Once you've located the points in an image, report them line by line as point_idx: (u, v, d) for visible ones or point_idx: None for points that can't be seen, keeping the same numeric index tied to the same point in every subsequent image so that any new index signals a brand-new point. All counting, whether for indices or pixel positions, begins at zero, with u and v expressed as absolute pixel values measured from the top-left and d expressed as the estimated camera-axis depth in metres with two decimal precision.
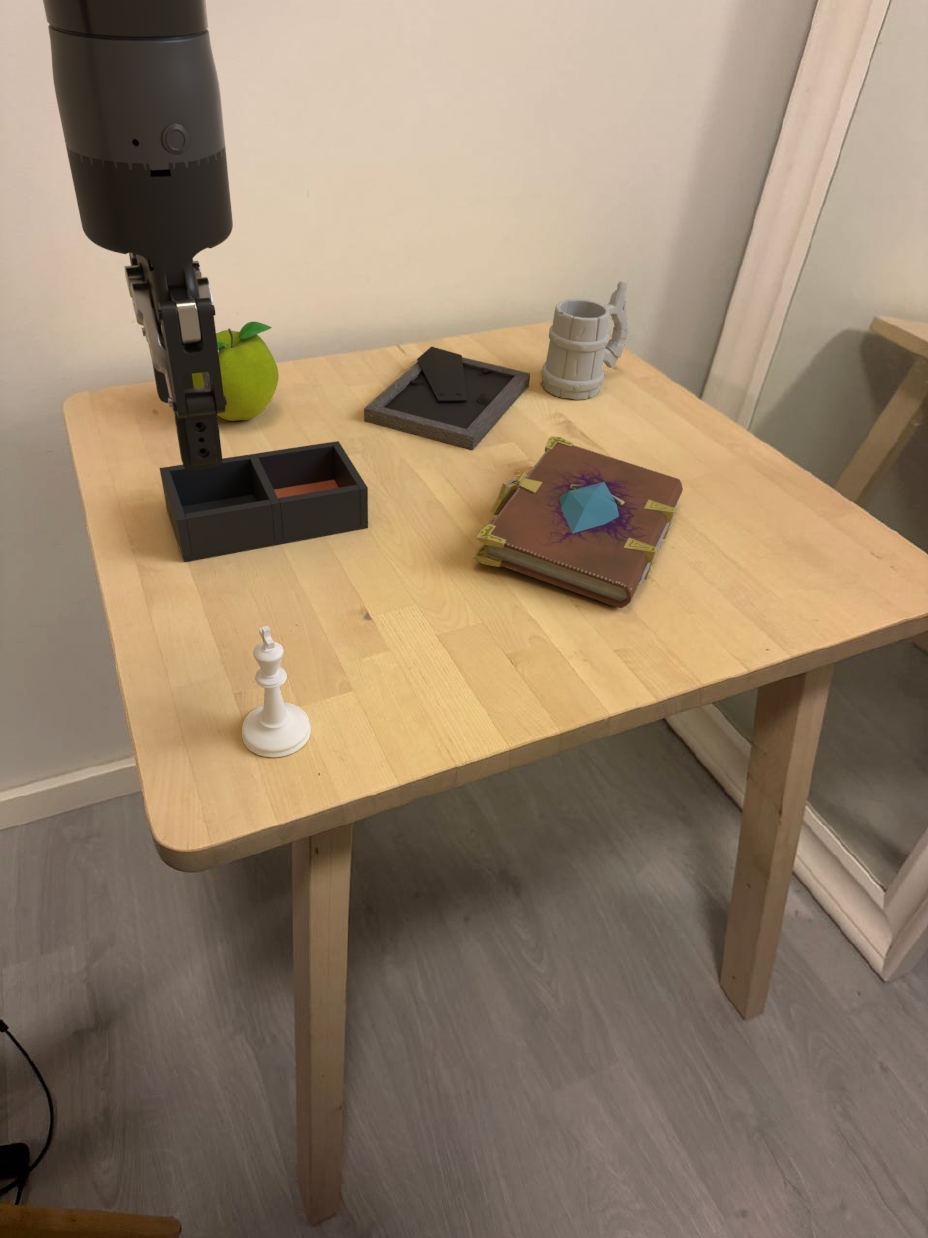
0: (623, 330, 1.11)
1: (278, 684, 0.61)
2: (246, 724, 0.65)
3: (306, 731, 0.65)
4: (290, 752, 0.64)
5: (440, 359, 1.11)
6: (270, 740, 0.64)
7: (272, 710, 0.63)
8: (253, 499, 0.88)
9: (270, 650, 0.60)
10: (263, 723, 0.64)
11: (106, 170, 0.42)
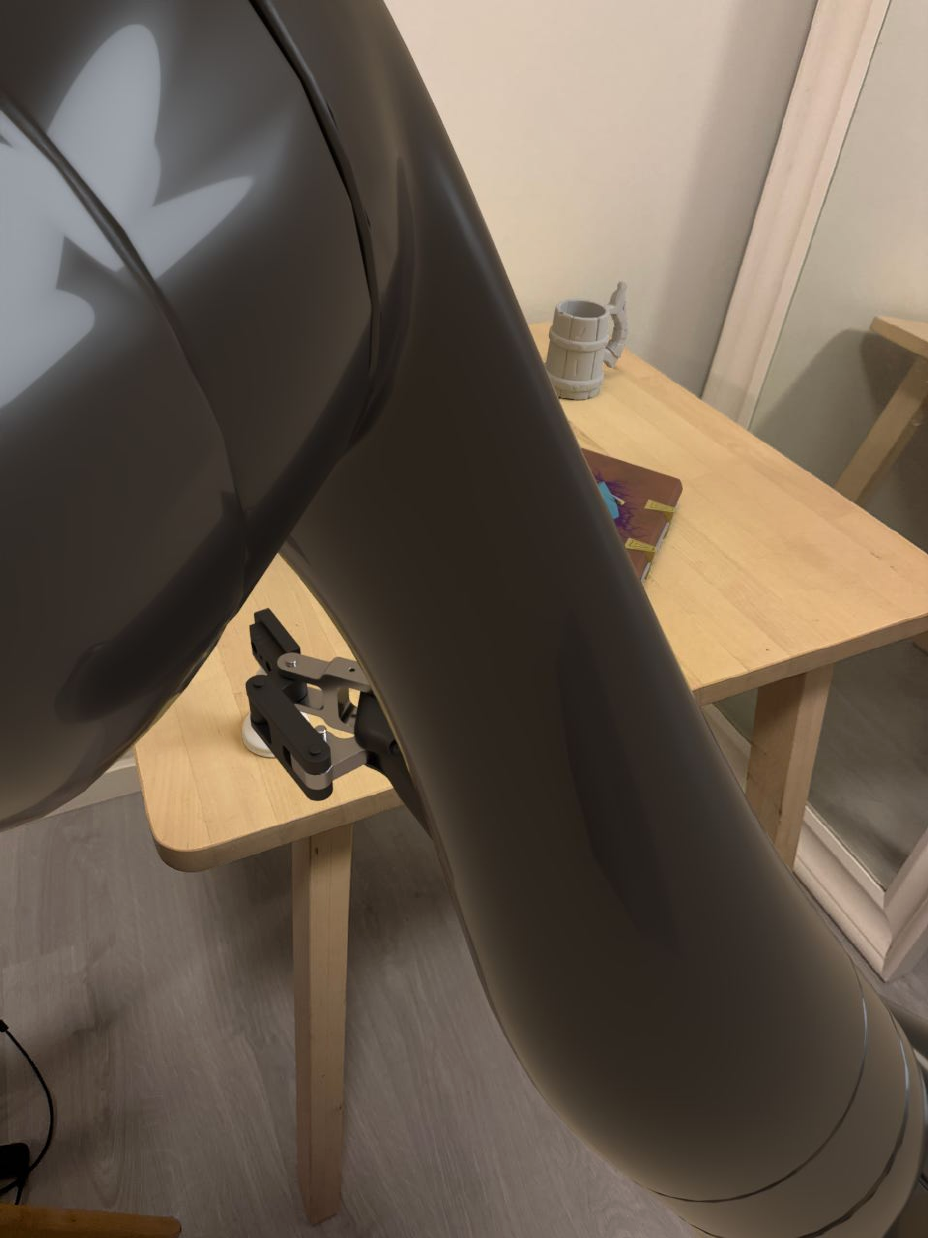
0: (623, 330, 1.11)
1: None
2: (246, 724, 0.65)
3: None
4: None
5: None
6: None
7: None
8: None
9: None
10: None
11: None
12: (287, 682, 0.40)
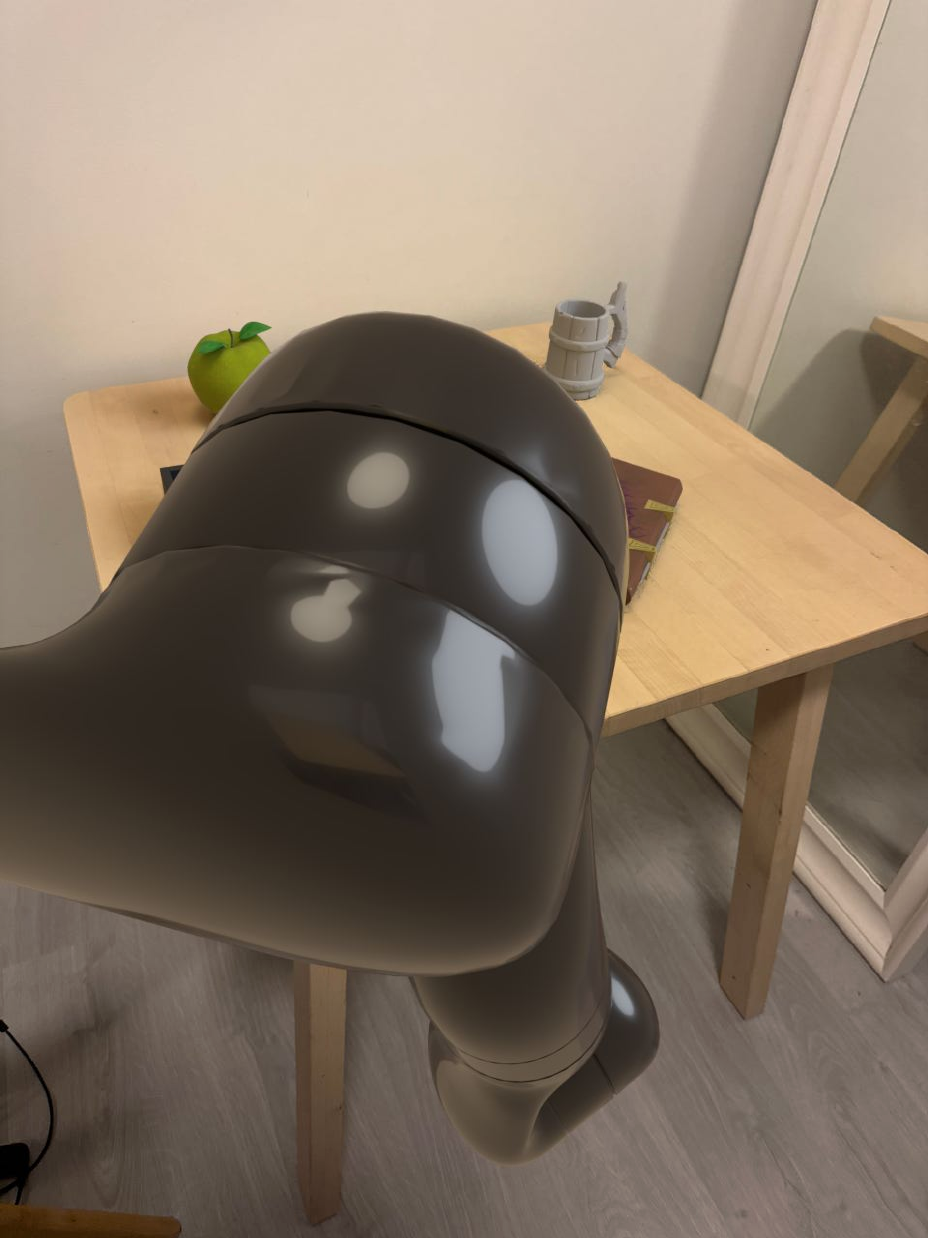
0: (623, 330, 1.11)
1: None
2: None
3: None
4: None
5: None
6: None
7: None
8: None
9: None
10: None
11: None
12: None
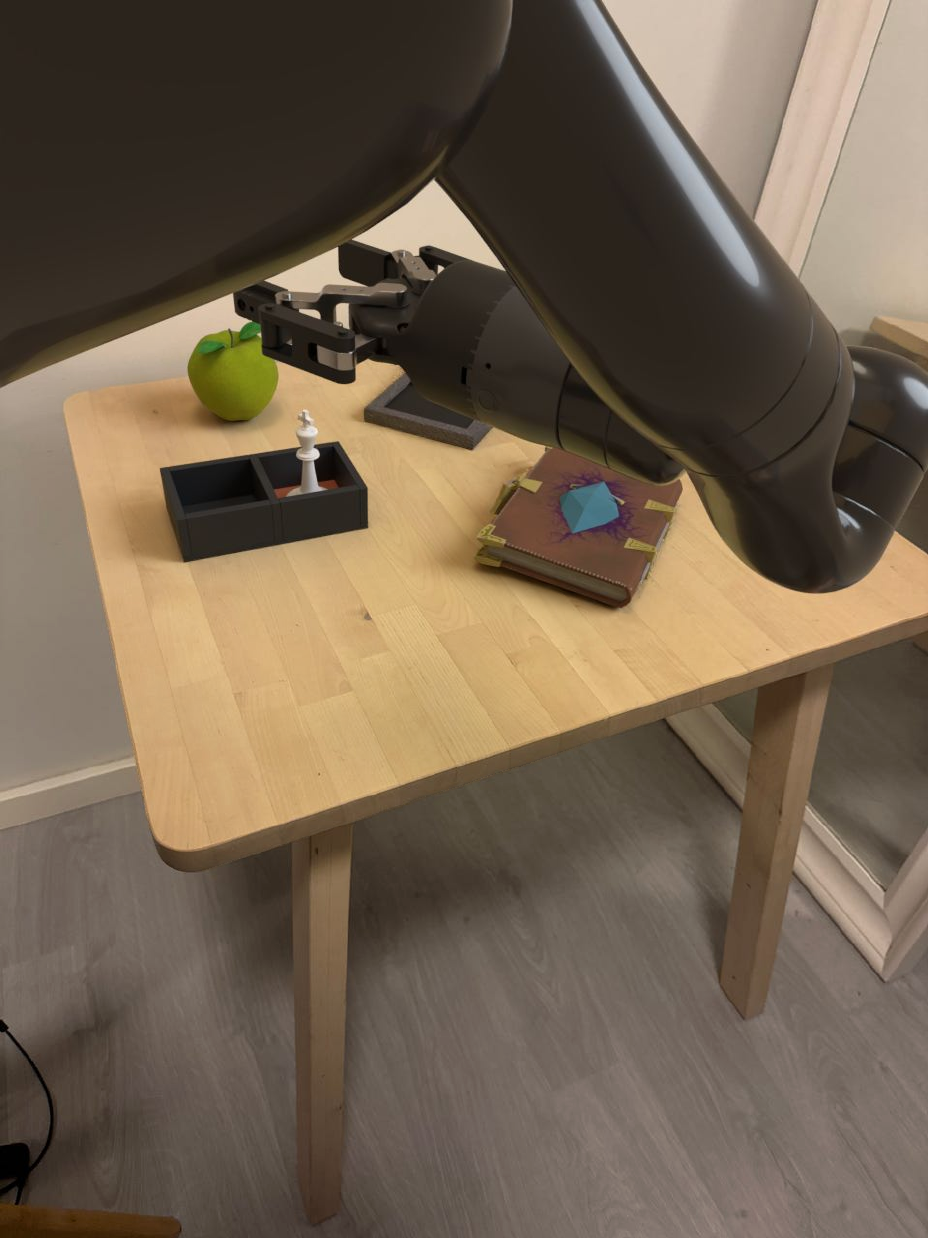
0: None
1: (316, 457, 0.83)
2: None
3: None
4: None
5: None
6: None
7: (311, 482, 0.85)
8: (253, 499, 0.88)
9: (309, 429, 0.82)
10: None
11: (476, 325, 0.43)
12: None
